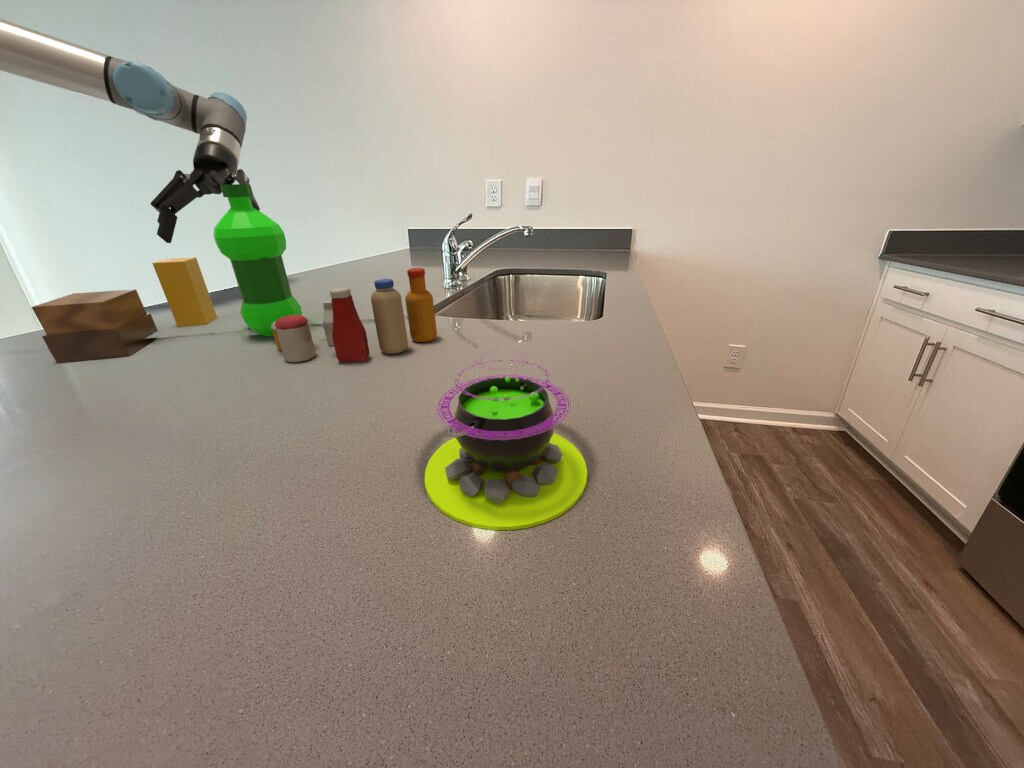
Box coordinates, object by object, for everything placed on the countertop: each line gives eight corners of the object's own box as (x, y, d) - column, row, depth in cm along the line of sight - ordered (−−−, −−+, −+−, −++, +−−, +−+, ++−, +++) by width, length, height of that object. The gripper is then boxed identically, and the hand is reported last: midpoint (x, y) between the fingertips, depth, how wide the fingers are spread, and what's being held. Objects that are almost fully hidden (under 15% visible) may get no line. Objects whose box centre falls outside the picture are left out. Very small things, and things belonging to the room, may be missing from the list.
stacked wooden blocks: (56, 363, 65) (25, 307, 61) (97, 342, 74) (72, 293, 70) (129, 356, 67) (104, 302, 63) (160, 336, 76) (140, 288, 72)
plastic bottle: (252, 345, 70) (200, 184, 59) (242, 331, 78) (195, 185, 67) (313, 332, 76) (276, 183, 65) (298, 320, 83) (263, 184, 72)
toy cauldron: (484, 414, 47) (478, 322, 42) (609, 449, 40) (620, 345, 35) (388, 490, 36) (365, 376, 31) (542, 559, 29) (543, 426, 24)
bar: (179, 332, 78) (151, 262, 72) (191, 325, 82) (166, 258, 76) (209, 330, 79) (184, 261, 73) (219, 322, 83) (196, 257, 77)
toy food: (439, 333, 73) (432, 265, 68) (428, 361, 62) (418, 281, 57) (290, 338, 73) (271, 270, 68) (252, 366, 62) (225, 287, 56)
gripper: (143, 142, 84) (117, 226, 77) (267, 140, 85) (252, 222, 78) (171, 172, 91) (149, 251, 84) (284, 170, 92) (272, 247, 86)
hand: (199, 237), depth 81 cm, fingers open, 13 cm apart
